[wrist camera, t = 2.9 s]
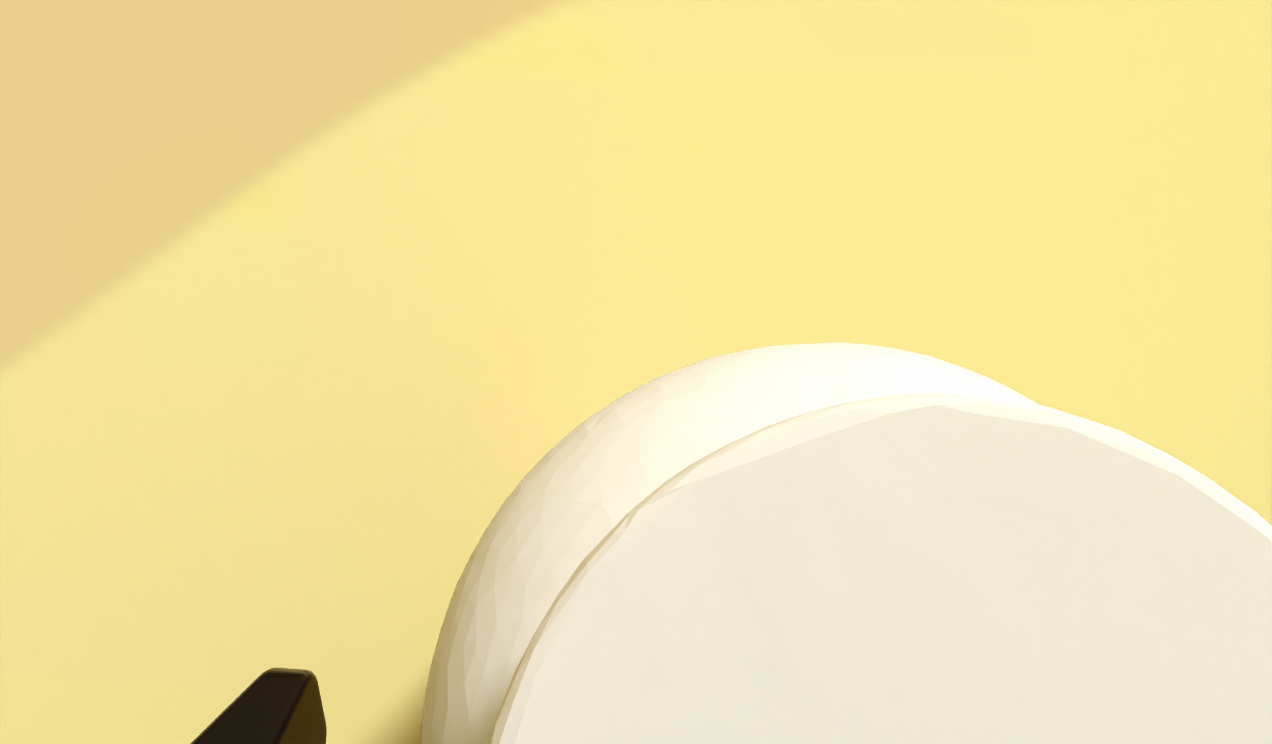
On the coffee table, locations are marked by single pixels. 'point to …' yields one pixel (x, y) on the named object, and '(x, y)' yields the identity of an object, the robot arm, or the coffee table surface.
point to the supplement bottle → (856, 573)
